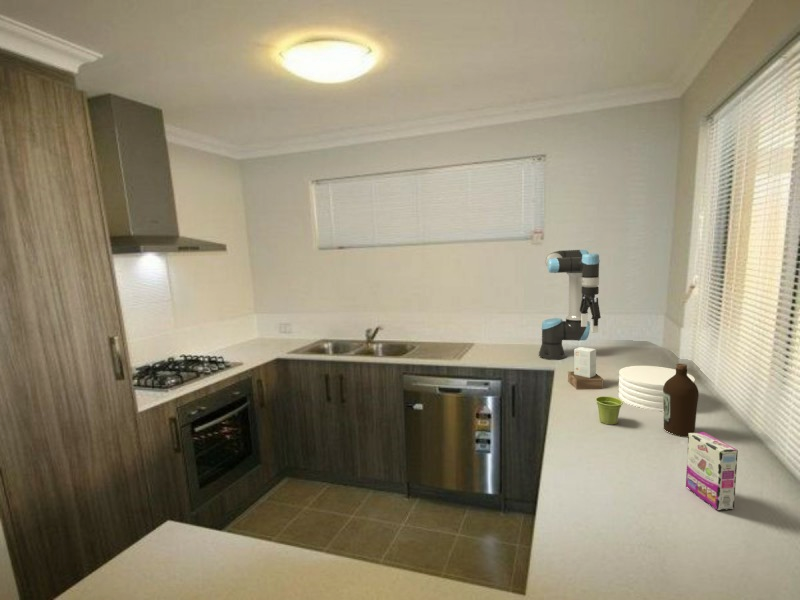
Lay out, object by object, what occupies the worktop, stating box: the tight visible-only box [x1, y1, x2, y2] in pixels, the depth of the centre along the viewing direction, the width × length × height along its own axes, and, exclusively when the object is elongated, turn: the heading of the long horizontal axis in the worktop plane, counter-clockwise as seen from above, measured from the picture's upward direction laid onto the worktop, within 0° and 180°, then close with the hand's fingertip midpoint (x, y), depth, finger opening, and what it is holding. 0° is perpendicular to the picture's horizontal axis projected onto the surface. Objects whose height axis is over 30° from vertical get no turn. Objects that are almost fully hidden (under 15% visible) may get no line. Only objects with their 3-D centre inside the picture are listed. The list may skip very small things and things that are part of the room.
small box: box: [573, 346, 597, 378], centre depth 203 cm, size 8×6×13 cm
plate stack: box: [618, 365, 696, 412], centre depth 182 cm, size 28×28×12 cm
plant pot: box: [595, 395, 624, 425], centre depth 162 cm, size 9×9×9 cm
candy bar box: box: [685, 431, 739, 511], centre depth 112 cm, size 11×5×16 cm, turn 5°
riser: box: [567, 371, 604, 390], centre depth 204 cm, size 12×12×5 cm
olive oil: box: [663, 363, 700, 437], centre depth 151 cm, size 11×11×25 cm
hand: (589, 329), depth 204 cm, fingers open, 13 cm apart
